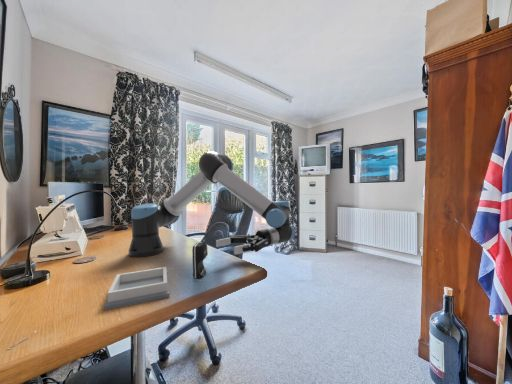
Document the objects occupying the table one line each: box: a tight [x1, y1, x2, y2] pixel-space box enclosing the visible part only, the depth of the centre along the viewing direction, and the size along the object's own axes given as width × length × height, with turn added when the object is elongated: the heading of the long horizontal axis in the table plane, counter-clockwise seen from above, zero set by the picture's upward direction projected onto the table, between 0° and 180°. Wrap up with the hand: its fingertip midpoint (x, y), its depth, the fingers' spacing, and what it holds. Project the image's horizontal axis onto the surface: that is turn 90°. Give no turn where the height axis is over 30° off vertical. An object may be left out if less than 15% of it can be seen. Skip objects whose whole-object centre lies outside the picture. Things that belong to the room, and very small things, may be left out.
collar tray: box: [103, 266, 170, 311], centre depth 69 cm, size 18×16×4 cm
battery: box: [191, 241, 208, 279], centre depth 79 cm, size 7×4×11 cm, turn 178°
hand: (224, 247), depth 85 cm, fingers open, 13 cm apart
